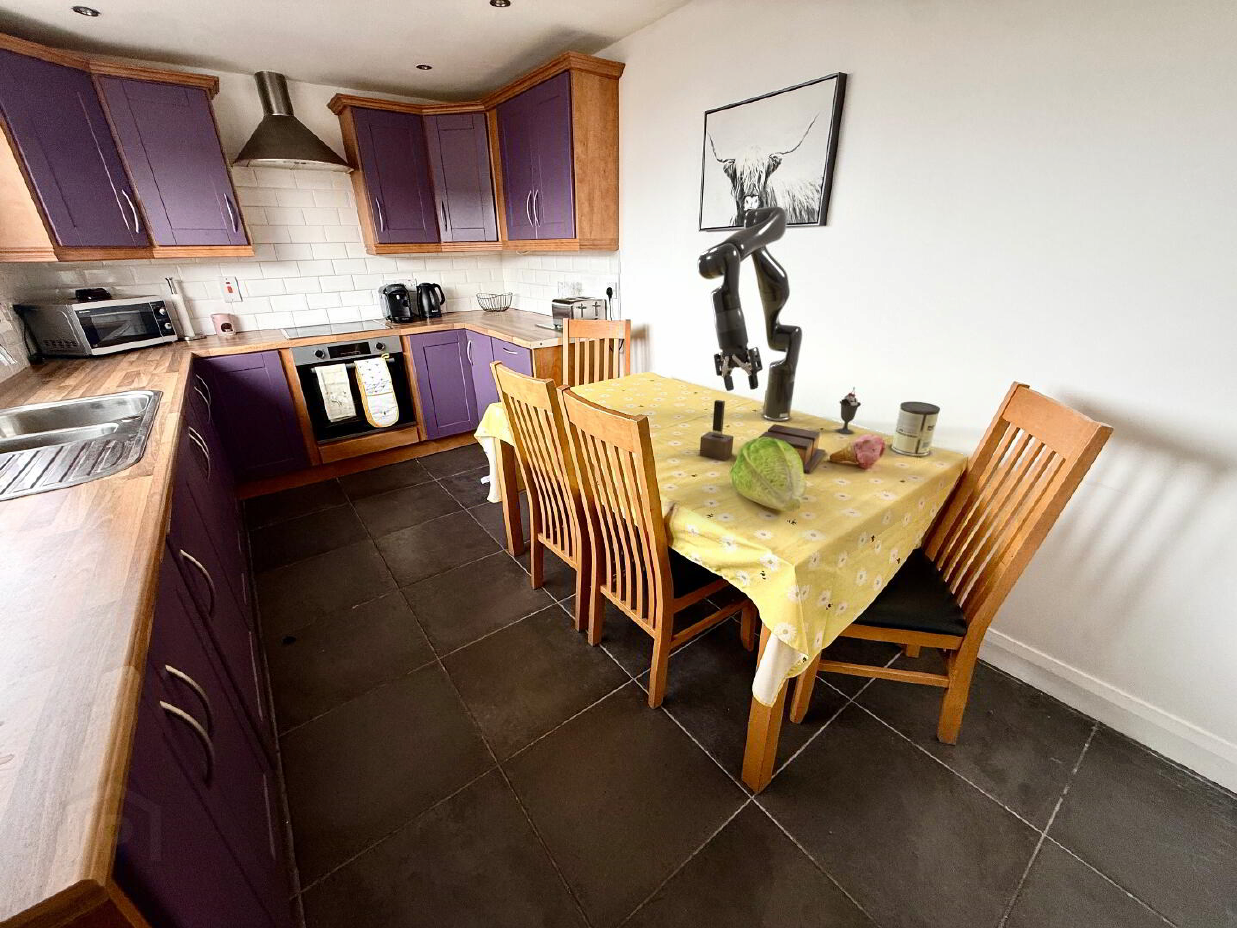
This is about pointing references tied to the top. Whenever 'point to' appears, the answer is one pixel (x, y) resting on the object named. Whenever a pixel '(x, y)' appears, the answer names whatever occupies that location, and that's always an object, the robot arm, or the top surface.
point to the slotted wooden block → (799, 443)
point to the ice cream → (862, 451)
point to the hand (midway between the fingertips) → (742, 389)
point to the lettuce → (770, 474)
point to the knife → (718, 418)
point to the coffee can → (915, 428)
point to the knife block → (716, 446)
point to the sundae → (848, 411)
